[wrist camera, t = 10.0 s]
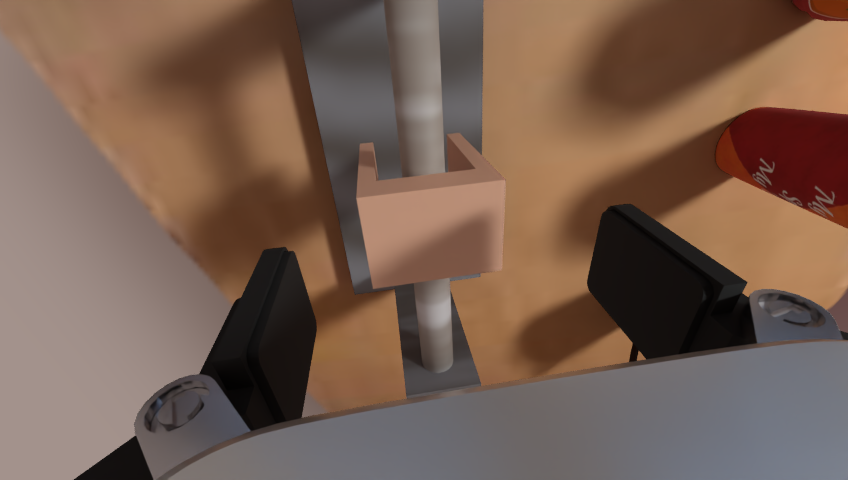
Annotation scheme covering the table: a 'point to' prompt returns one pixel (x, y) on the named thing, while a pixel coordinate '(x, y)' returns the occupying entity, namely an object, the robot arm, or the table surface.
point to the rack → (398, 140)
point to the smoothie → (824, 9)
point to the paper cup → (791, 157)
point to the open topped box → (432, 218)
